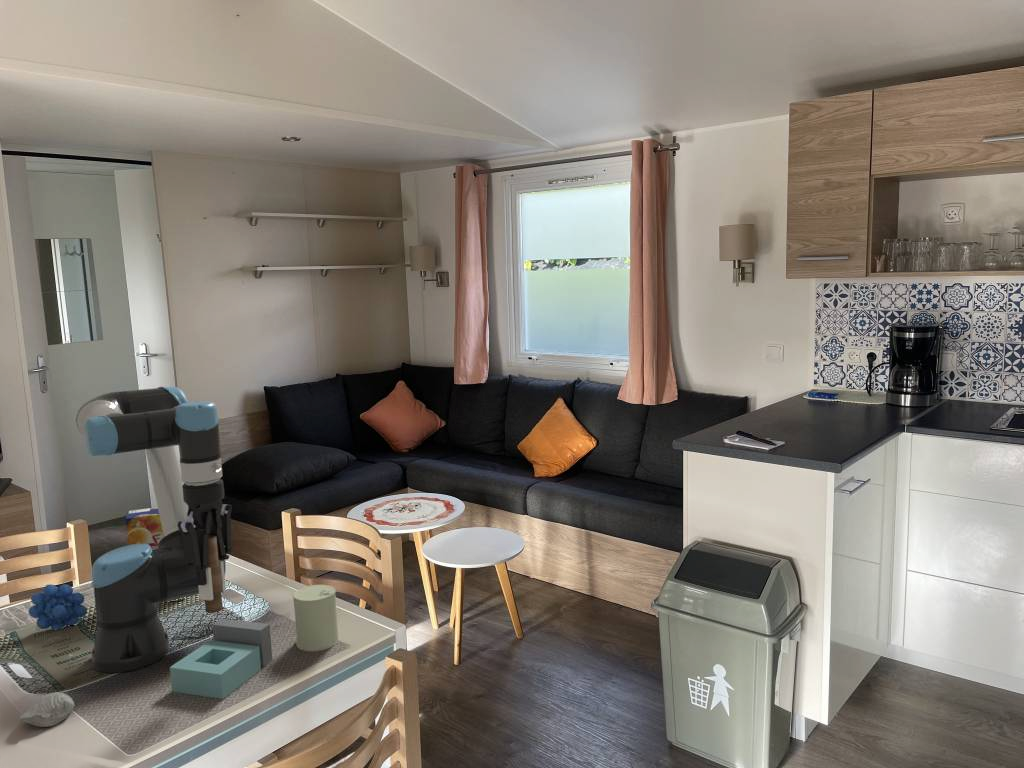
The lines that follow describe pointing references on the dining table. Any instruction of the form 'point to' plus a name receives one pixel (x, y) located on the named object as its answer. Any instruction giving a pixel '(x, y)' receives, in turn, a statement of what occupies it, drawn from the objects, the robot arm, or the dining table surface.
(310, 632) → the can
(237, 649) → the block
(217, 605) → the dowel
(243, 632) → the wall
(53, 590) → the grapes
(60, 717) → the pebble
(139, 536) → the juice carton
